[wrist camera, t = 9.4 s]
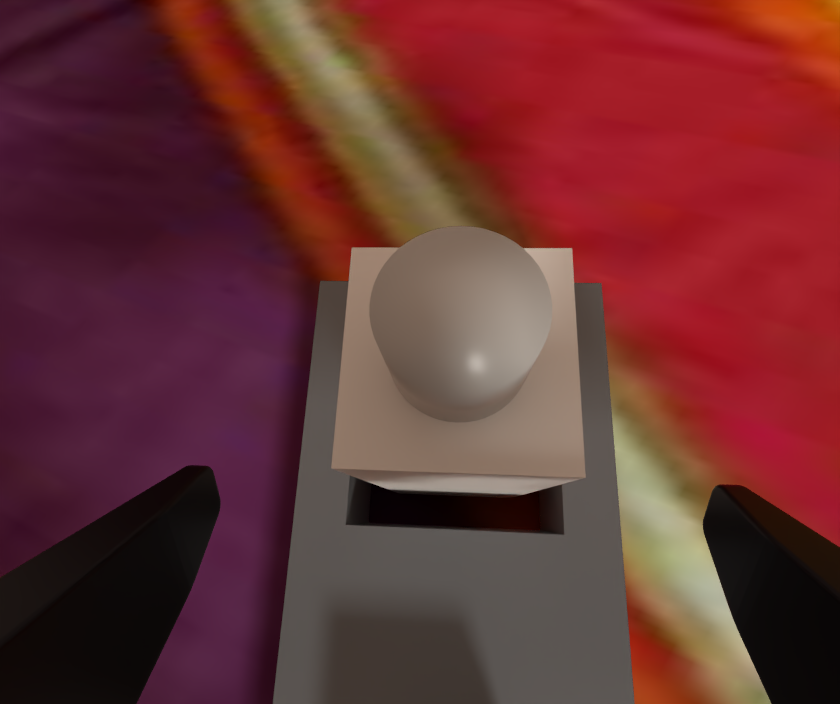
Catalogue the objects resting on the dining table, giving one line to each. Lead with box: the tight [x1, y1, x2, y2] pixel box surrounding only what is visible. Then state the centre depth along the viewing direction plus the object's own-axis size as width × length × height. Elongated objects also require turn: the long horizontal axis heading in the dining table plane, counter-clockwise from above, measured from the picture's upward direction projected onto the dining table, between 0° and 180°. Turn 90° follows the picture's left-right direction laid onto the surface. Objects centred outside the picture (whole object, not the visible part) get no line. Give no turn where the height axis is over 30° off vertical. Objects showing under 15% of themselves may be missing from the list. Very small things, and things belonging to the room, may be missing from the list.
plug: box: [331, 226, 586, 498], centre depth 12 cm, size 4×4×12 cm
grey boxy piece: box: [273, 281, 634, 704], centre depth 13 cm, size 21×9×7 cm, turn 178°
